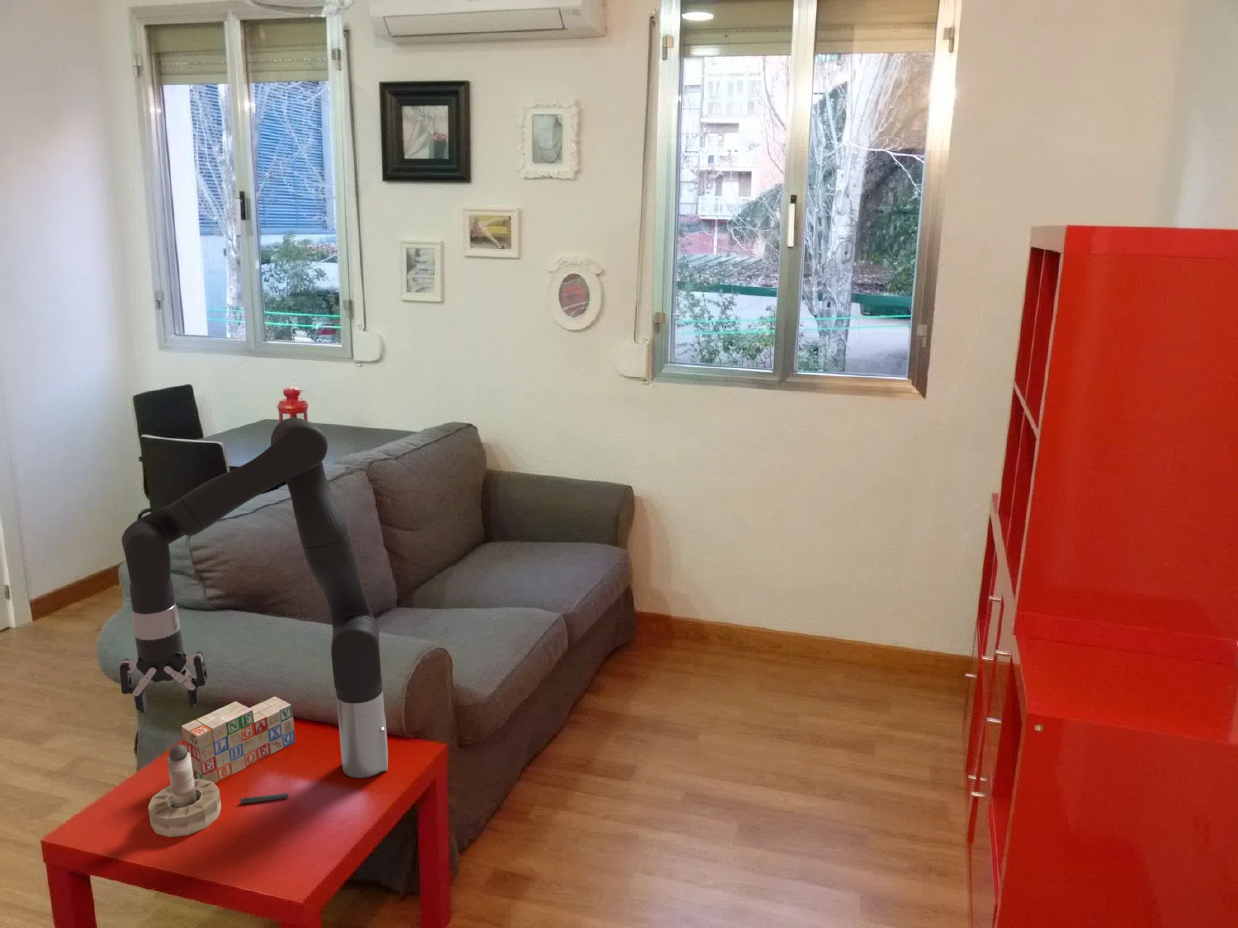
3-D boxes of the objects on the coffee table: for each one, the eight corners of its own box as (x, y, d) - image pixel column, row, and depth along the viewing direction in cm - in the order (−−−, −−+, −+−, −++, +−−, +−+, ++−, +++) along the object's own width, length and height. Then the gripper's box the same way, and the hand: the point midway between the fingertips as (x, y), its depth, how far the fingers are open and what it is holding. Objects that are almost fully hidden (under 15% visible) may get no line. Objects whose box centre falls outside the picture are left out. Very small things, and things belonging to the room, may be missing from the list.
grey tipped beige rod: (200, 808, 182) (190, 738, 178) (196, 821, 179) (186, 750, 175) (178, 810, 182) (168, 741, 177) (173, 823, 178) (163, 752, 174)
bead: (225, 793, 187) (223, 775, 186) (213, 831, 176) (211, 813, 175) (160, 801, 185) (158, 783, 183) (144, 840, 173) (141, 821, 172)
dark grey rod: (288, 795, 186) (288, 791, 186) (288, 798, 185) (287, 794, 185) (241, 801, 185) (240, 797, 184) (240, 804, 184) (239, 800, 183)
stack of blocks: (279, 732, 209) (274, 683, 205) (296, 742, 205) (291, 692, 202) (187, 777, 192) (180, 724, 189) (204, 789, 189) (197, 735, 185)
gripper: (203, 616, 175) (213, 694, 180) (120, 623, 172) (132, 702, 177) (195, 634, 168) (205, 714, 173) (108, 641, 165) (121, 723, 170)
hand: (168, 708), depth 175 cm, fingers open, 8 cm apart
